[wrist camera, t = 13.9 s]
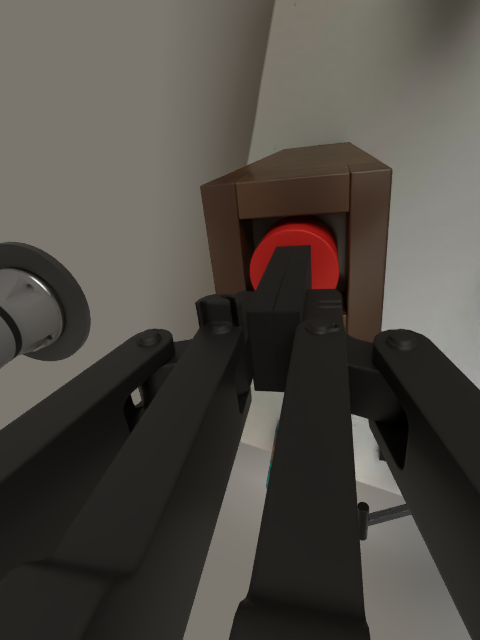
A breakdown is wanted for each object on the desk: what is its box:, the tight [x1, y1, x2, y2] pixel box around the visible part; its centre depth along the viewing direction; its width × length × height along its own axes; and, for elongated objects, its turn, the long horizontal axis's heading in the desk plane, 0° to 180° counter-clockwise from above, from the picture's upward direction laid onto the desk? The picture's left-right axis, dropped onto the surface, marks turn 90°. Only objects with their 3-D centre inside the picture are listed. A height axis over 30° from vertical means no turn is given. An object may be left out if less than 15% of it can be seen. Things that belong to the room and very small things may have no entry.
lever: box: [357, 502, 412, 540], centre depth 50 cm, size 13×6×2 cm, turn 96°
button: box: [250, 215, 339, 291], centre depth 18 cm, size 4×4×3 cm
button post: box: [200, 142, 392, 342], centre depth 32 cm, size 8×8×34 cm
